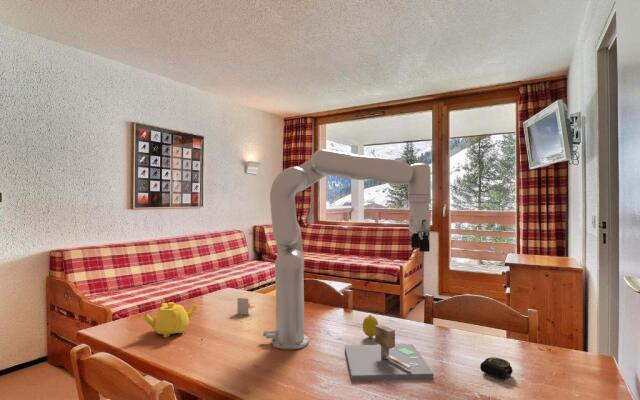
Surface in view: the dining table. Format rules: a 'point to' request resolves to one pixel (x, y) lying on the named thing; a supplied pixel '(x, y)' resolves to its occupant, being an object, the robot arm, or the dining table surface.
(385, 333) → the wooden block with handle
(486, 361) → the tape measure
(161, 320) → the teapot
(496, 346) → the dining table surface
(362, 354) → the board
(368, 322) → the lemon
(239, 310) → the architectural model
